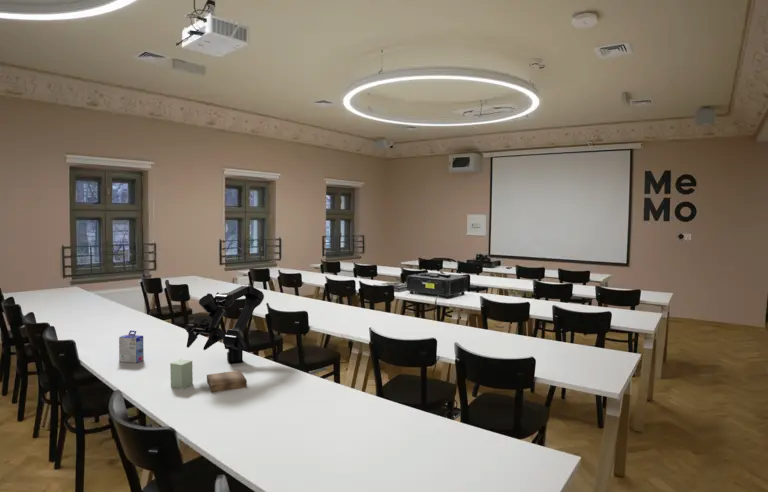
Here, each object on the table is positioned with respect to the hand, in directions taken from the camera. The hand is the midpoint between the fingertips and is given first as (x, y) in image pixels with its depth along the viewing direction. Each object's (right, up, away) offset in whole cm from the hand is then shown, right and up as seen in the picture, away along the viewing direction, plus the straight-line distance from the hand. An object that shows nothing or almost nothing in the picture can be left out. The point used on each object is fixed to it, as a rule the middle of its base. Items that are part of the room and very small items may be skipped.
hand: (195, 348), depth 208 cm
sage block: (-3, -14, -6) cm, 16 cm away
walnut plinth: (+15, -14, -5) cm, 21 cm away
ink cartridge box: (-41, -11, +25) cm, 49 cm away
